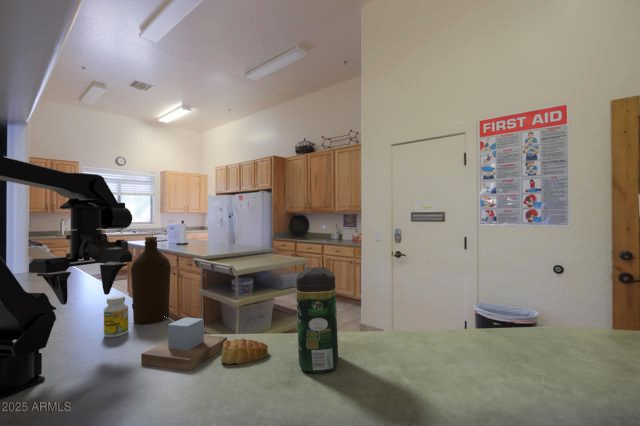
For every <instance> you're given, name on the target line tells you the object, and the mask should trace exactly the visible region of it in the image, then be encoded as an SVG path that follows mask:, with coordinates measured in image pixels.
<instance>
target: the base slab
mask: <svg viewBox="0 0 640 426" xmlns="http://www.w3.org/2000/svg"><path fill="white" fill-rule="evenodd" d="M225 341H228V337H227V336H217V335H207V334H204V342H202V343H201V344H199V345H197V346H195V347H194V348H192V349H190V350H188V351H185V350H177V349H168V340H166V341H164V342H163V343H160V344H159V345H157V346H154V347H152V348H151V349H148V350H146V351H144V352H142V353H141V354H140V355H141V356H140V357H141V358H140V359H141V360H140V362H141V363H140V364H141V365H148V366H155V367H162V368H169V369H175V370H181V371H182V370H183V371H189V372H190V371H191V370H193V369H194V368H196V367H198V366H199V365H200V364H202V363H203V362H205V361H206V360H209V359H210V358H211V357H214V355H216V354H217V353H219V352H220V351H221V349H222V350H223V343H224V342H225ZM218 351H219V352H218ZM215 353H216V354H215Z"/></svg>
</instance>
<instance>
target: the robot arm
mask: <svg viewBox="0 0 640 426" xmlns="http://www.w3.org/2000/svg"><path fill="white" fill-rule="evenodd" d="M0 181H4V182H7V183H8V182H9V183H14V184H18V185H19V184H20V185H24V186H29V187H35V188H38V189H44V190H50V191H53V192H55V193H57V194H58V195H59V196H60V197H63V198H67V199H68V200H67V201H65V202H64V203H62V204H61V205H60V206H59V208H60V209H61V210H70V219H69V220H70V232H69V233H70V234H66V235H65V236H66V240H70V241H69V242H70V250H69V251H70V252H69V253H67V252H66V254H65V256H47V257H37V258H32V260H30V262H29V263H28V273H30V274H36V276H37V277H42V278H43V279H44V281H45V282H46V283H47V284H48V285H49V287H50V288H51V290H52V291H53V293H54V294H55V296H56V298H57V300H58V301H59V303H60V304H61V305H67V304H68V298H69V297H68V279H69V277H70V276H71V274H72V272H71V271H67V270H68V269H69V268H71V267H77V266H78V267H79V266H86V265H87V266H88V265H94V264H99V268H100V270H99V271H100V277H101V278H100V279H101V285H102V286H101V287H102V290H103V294H104V295H110V293H111V290H112V287H113V285H114V283H115V280H116V277H117V275H118V274H119V272H120V270H122V269H123V268H124V267H127V266H128V263H132V262H133V253H131V252H130V250H129V242H128V240H126V239H116V240H115V241H109V240H108V235H107V233H103V230H126V228H127V229H128V227H130V226H131V224H132V221H133V214H132V213H131V210H130V209H128V208H127V207H126V203H125V202H118V200H117V198H116V197H115V195H114V193H113V192H112V191H111V189H110V187H109V185H108V183H107V182H106V179H105V177H103V176H102V175H100V174H97V173H85V172H83V173H82V172H68V171H62V170H58V169H55V168H51V167H47V166H43V165H40V164H35V163H32V162H28V161H24V160H20V159H17V158H12V157H9V156H5V155H3V154H1V153H0ZM56 310H57V307H56V306H54V305H52V303H51V302H50V299H49V296H48V295H47V294H46V293H45V292H27V291H26V290H25V289H24V288H23V286H22V285H21V284H20V282H19V281H18V279H17V278H16V277H15V275H14V274H13V272H12V270H11V269H10V267H8V265H7V264H6V262H5V260H4V259H3V258H2V256H1V255H0V399H3V398H6V397H7V396H10V395H12V394H14V393H15V394H16V393H17V392H19V391H21V390H24V389H26V388H29V387H31V386H34V385H36V384H38V383H41V382H43V381H45V380H46V377H45V376H42V373H43V352H41V351H40V350H41V349H42V350H43V349H45V348H46V347H47V345H48V341H49V339H50V335H51V332H52V330H53V327H54V325H55V322H56V321H57V316H56V313H55V311H56ZM15 340H16V341H15Z"/></svg>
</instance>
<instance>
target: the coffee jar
mask: <svg viewBox="0 0 640 426" xmlns="http://www.w3.org/2000/svg"><path fill="white" fill-rule="evenodd" d="M295 288H296V291H295V292H296V293H295V294H296V315H297V316H296V322H297V323H296V324H297V326H296V327H297V346H298V353H297V354H298V364H299V365H298V366H299V367H300V369H301V370H302V371H306V372H310V373H313V374H323V373H326V372H330V371H333V370H336V368H337V367H338V364H339V345H338V344H339V343H338V341H339V340H338V338H339V337H338V319H337V287H336V276H335V273H333V271H332V270H329V269H327V268H326V267H325V266H324V267H323V266H319V267H318V266H317V267H306V268H305V269H304V270H302V271H301V272H299V273H298V274H297V276H296V287H295Z"/></svg>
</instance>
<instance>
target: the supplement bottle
mask: <svg viewBox="0 0 640 426" xmlns="http://www.w3.org/2000/svg"><path fill="white" fill-rule="evenodd" d="M125 301H126V297H125V295H117V296H116V295H115V296H111V297H107V298H106V304H107V306H105V307H104V308H103V335H104V337H105V338H116V337H120V336H121V337H122V336H124V335H126V334H127V333H128V332H129V305H128V304H127V303H125Z"/></svg>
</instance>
